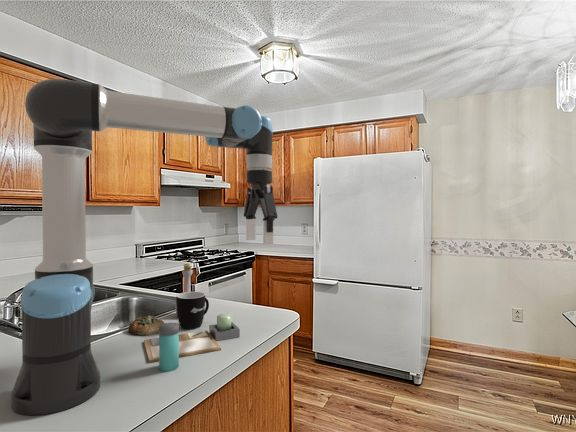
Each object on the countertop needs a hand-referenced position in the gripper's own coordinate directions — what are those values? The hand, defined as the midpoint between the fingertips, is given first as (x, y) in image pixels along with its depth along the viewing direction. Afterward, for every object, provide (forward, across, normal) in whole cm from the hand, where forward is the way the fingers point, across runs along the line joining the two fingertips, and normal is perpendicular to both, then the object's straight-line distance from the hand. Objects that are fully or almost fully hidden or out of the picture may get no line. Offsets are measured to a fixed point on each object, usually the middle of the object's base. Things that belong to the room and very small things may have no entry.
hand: (259, 242), depth 106 cm
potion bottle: (+28, +30, +15) cm, 44 cm away
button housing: (+28, +5, +9) cm, 30 cm away
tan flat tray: (+28, +2, +22) cm, 36 cm away
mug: (+28, +18, +15) cm, 37 cm away
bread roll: (+28, +20, +29) cm, 45 cm away
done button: (+26, +5, +9) cm, 28 cm away
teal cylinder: (+28, -10, +27) cm, 40 cm away
